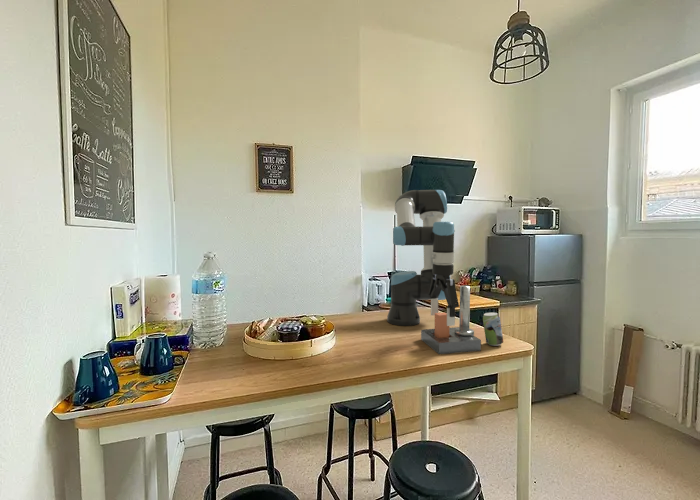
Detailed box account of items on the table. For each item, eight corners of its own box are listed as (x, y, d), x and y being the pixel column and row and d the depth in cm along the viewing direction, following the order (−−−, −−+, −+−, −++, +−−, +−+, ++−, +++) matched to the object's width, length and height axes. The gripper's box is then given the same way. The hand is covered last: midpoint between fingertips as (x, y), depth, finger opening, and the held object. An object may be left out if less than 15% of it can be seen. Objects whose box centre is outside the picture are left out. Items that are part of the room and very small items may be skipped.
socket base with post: (421, 339, 137) (421, 284, 136) (461, 336, 140) (462, 282, 139) (439, 354, 121) (439, 292, 120) (484, 350, 125) (485, 289, 123)
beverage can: (505, 348, 127) (505, 315, 126) (483, 346, 129) (484, 314, 128) (501, 342, 133) (501, 311, 132) (480, 341, 135) (481, 310, 134)
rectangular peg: (434, 344, 132) (434, 313, 131) (444, 343, 133) (444, 312, 132) (439, 347, 128) (439, 315, 127) (449, 346, 129) (449, 315, 128)
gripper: (420, 259, 140) (419, 311, 142) (449, 268, 115) (448, 331, 117) (437, 259, 141) (437, 310, 143) (470, 267, 117) (468, 329, 119)
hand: (442, 320), depth 130 cm, fingers open, 13 cm apart
